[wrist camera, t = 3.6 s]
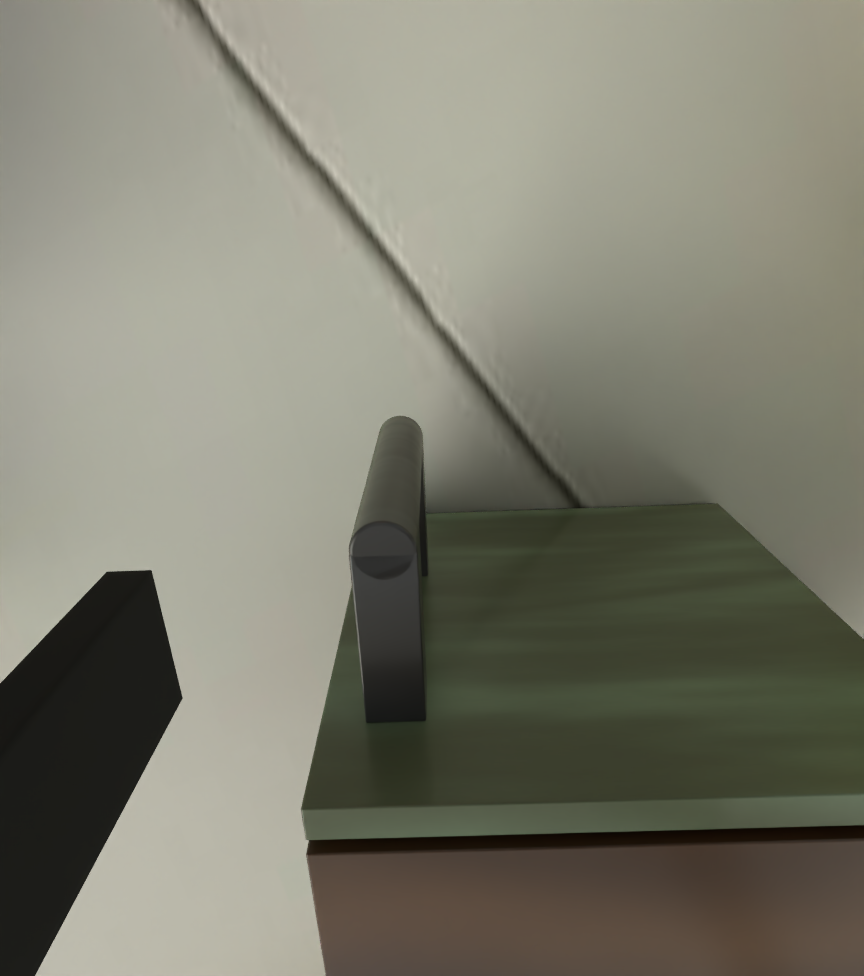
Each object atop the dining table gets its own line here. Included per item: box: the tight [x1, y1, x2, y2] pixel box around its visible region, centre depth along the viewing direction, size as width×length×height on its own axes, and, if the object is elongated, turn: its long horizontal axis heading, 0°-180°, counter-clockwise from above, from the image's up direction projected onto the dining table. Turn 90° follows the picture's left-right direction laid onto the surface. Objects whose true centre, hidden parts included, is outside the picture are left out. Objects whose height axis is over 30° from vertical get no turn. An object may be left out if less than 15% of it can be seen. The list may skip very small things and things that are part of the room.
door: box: [301, 416, 864, 840], centre depth 20 cm, size 7×16×16 cm, turn 92°
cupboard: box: [306, 825, 864, 976], centre depth 23 cm, size 11×16×16 cm
